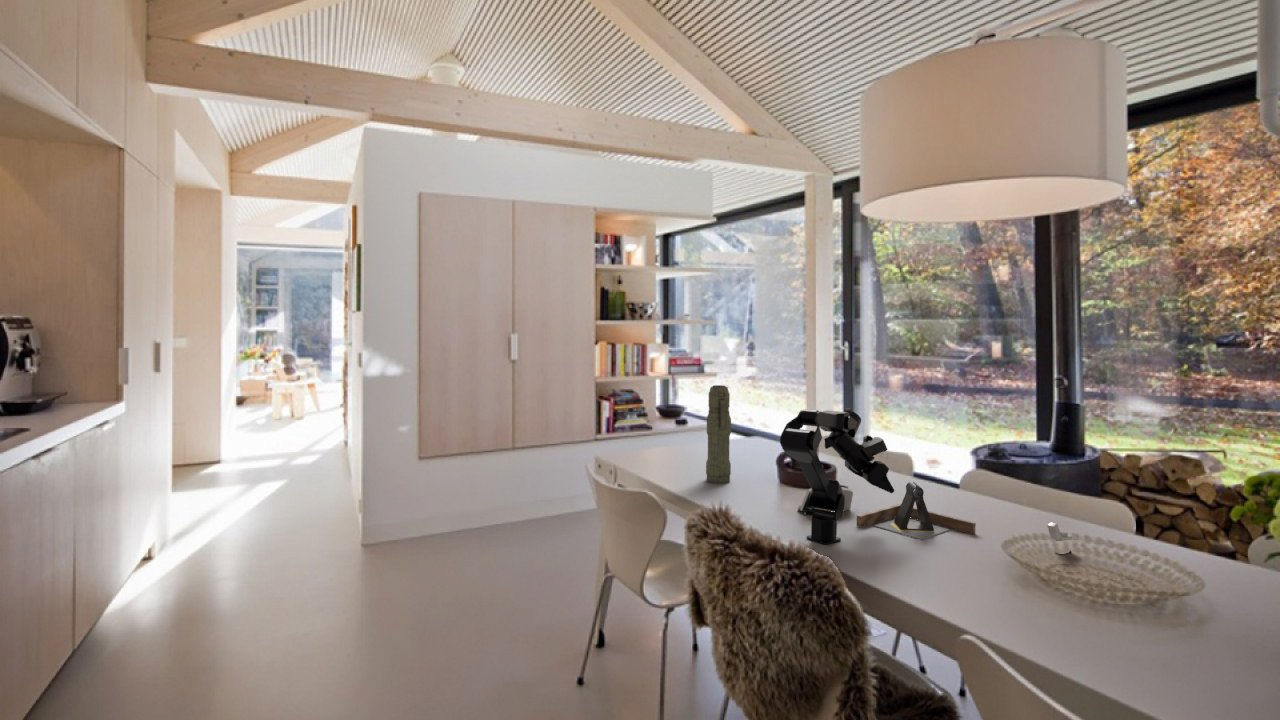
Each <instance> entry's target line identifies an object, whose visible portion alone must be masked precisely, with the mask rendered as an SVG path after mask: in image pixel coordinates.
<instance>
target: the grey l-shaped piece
mask: <svg viewBox="0 0 1280 720" xmlns="http://www.w3.org/2000/svg"><path fill="white" fill-rule="evenodd" d="M1046 526H1047V529H1048V533H1049V536H1050V538H1051V540H1053V541H1055V540H1056V541H1063V540H1072V539H1073V536H1072V535H1070V534H1069V533H1068V531H1065V530H1062V531H1060V528H1059V525H1058V524H1057V523H1055V522H1048V524H1047V525H1046ZM1072 541H1073V540H1072Z"/></svg>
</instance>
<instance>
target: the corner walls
mask: <svg viewBox="0 0 1280 720" xmlns="http://www.w3.org/2000/svg"><path fill="white" fill-rule="evenodd" d="M900 506H901V504H898V503H897V504H895V505H891V506H886V507H883V508H880V509H876V510H871V511H868V512H865V513H861V514H857V515H856V527H858V526H859V528H862V527H865V525H866V526H869V525H872V523H873V524H876V523H878V522H882V521H886V520H890V519H893V518H896V516H897V513H898V511H899V509H900ZM927 511H928V513H929V516H930V519H931V522H932V525H935V526H938V527H942V528H946V529H950V530H955V531H957V532H958V531H959V532H962V533H965V534H966V533H967V534H970V535H975V534H976V527H977V526H976V523H977V522H974V521H969V520H966V519H963V518H962V519H961V518H958V517H954V516H950V515H945V514H942V513H938V512H933V511H929V510H927ZM910 517H911V518H910V519H913V518H914V519H913V520H917V519H918V520H917V521H920V518H919V514H918V510H917V507H915V506H913V510H912V513H911V516H910Z"/></svg>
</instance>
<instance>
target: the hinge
mask: <svg viewBox="0 0 1280 720" xmlns="http://www.w3.org/2000/svg"><path fill="white" fill-rule="evenodd" d="M839 484H840V487H841V488H842V490H841V491H842V492H843V495H844V496H845V503H844V510H845V511H850V510H851V507H852V503H853V502H852V501H853V495H854V491H852V489H851V488H849V487H848V486H847V485H845V484H842V483H839ZM811 490H812V489H811V487H809V489H807V490H806V492H805V494H804V498H803V500H802V503H801V505H798V507H797V509H796V510H797V512H804V515H805V507H806V504H807V501H808V498H809V495H810V492H811ZM815 509H820V510H825V511H832V510H826V509H821V508H815ZM849 509H850V510H849Z"/></svg>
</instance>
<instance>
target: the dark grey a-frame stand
mask: <svg viewBox="0 0 1280 720" xmlns="http://www.w3.org/2000/svg"><path fill="white" fill-rule="evenodd" d="M905 489H906V490H905V494H904V497H903V499H902V501H901V504H900V505H901V506H900V509H899V511H898V513H897V516H896V517H894V518H895V519H894V520H895V521H894V523H895V524H896V525H897V526H898V527H899V528H900V529H901V530H919V531H934V528H933V525H934V524H932V522H931V519H930V516H929V513H928V511H929V510H928V508H927V506H926V502H925V500H924V499H925V498H924V492H925V491H924V489H923V488H922V487H920V486H919V485H918V484H917V483H916V482H915V481H914V482H913V483H912V482H910V481H909V482H908V483H906V486H905ZM915 505H916V506H915ZM913 507H916V508H917V510H918V514H919V518H920V520H919V521H920V523H911V522H909V519H911V518H910V516H911V513H912V510H913Z"/></svg>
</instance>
